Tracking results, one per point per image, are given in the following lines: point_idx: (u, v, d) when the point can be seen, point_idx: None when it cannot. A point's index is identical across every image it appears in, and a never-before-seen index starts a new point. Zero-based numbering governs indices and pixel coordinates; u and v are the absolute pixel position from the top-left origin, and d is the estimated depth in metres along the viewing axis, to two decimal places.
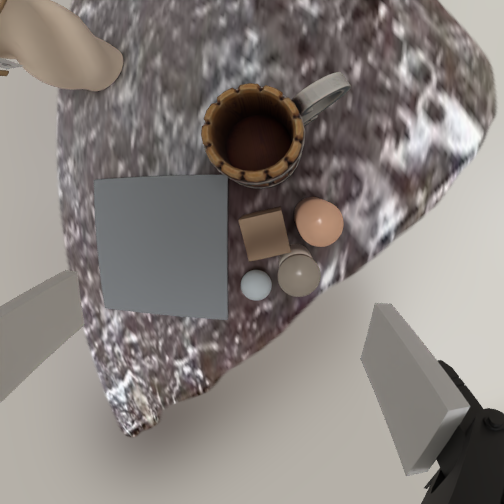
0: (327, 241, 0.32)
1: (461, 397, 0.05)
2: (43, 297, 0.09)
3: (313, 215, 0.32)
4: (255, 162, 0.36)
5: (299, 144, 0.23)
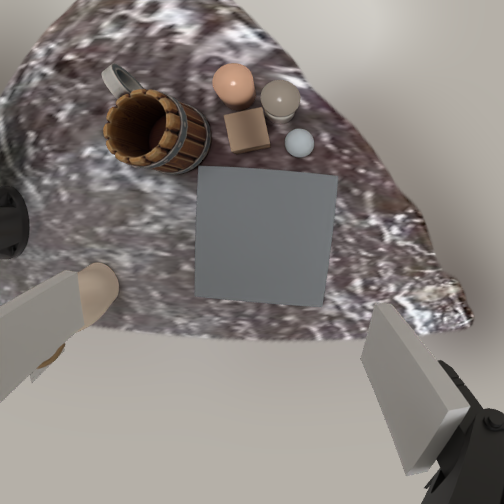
0: (248, 75, 0.32)
1: (461, 397, 0.05)
2: (43, 297, 0.09)
3: (224, 86, 0.33)
4: None
5: (149, 90, 0.26)
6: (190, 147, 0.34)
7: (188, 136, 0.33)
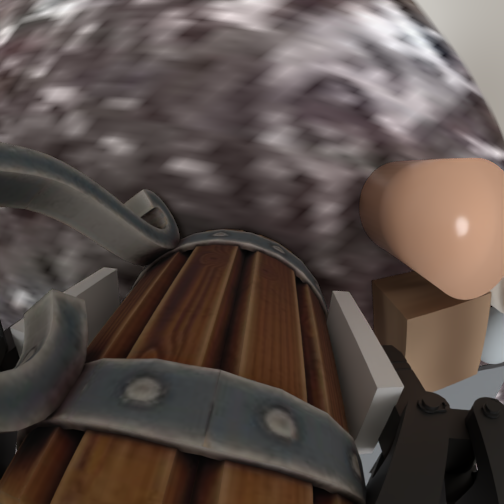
0: None
1: (396, 377, 0.07)
2: (88, 293, 0.10)
3: (457, 254, 0.08)
4: None
5: None
6: None
7: None
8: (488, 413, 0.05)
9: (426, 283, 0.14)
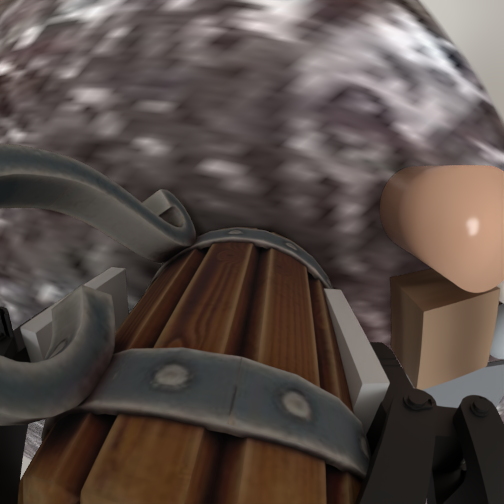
0: None
1: (382, 374, 0.07)
2: None
3: (468, 251, 0.09)
4: None
5: None
6: None
7: None
8: (476, 411, 0.05)
9: (440, 280, 0.14)
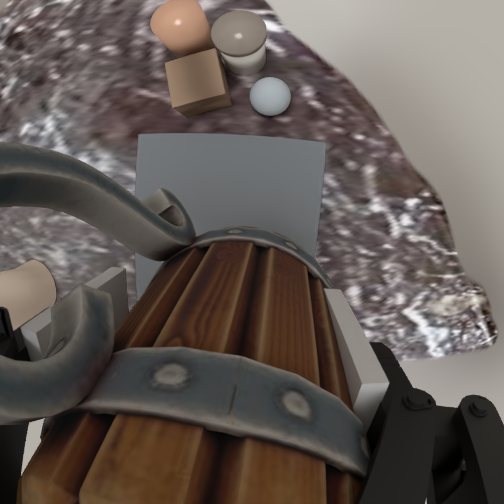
0: (196, 8, 0.20)
1: (381, 373, 0.07)
2: None
3: (164, 25, 0.21)
4: None
5: None
6: None
7: None
8: (476, 412, 0.05)
9: None
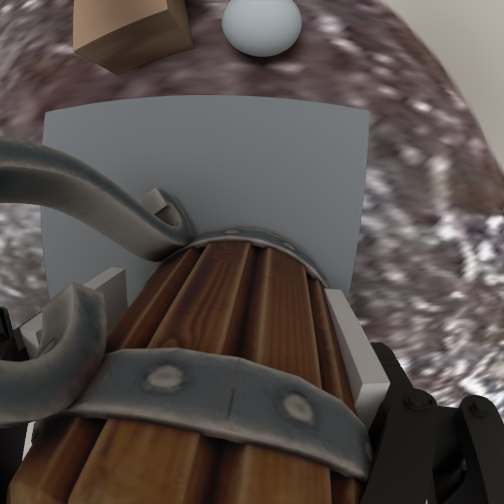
0: None
1: (382, 374, 0.07)
2: None
3: None
4: None
5: None
6: None
7: None
8: (476, 411, 0.05)
9: None
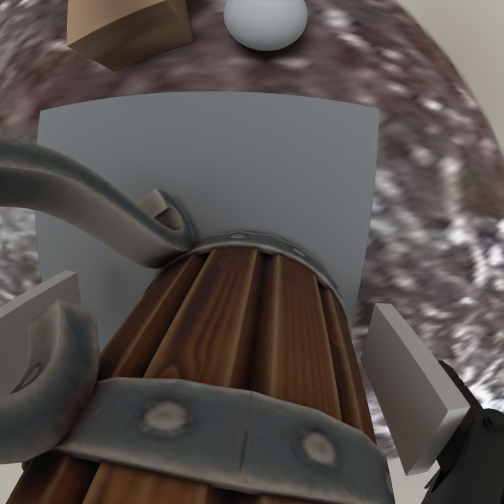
0: None
1: (461, 397, 0.05)
2: (43, 297, 0.09)
3: None
4: None
5: None
6: None
7: None
8: None
9: None
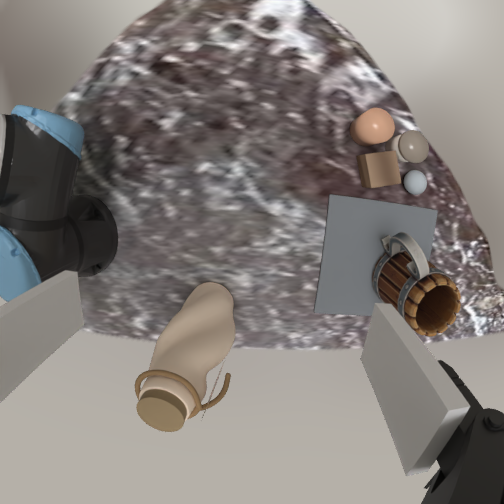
0: (390, 121, 0.36)
1: (461, 397, 0.05)
2: (43, 297, 0.09)
3: (372, 129, 0.37)
4: None
5: (450, 282, 0.32)
6: None
7: None
8: None
9: None
